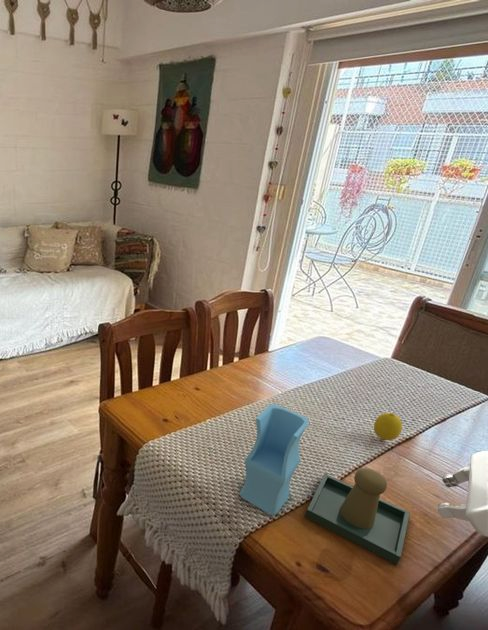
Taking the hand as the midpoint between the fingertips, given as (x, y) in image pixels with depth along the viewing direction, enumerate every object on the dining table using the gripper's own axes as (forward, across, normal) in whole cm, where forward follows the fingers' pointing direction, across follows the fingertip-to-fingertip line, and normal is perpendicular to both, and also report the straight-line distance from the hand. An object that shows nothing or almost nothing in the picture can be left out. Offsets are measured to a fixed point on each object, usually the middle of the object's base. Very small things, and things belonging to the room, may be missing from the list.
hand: (442, 495), depth 78 cm
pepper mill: (+16, +1, +2) cm, 16 cm away
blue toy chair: (+28, +8, -9) cm, 30 cm away
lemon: (+17, -32, +2) cm, 36 cm away
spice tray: (+16, +1, +2) cm, 16 cm away
